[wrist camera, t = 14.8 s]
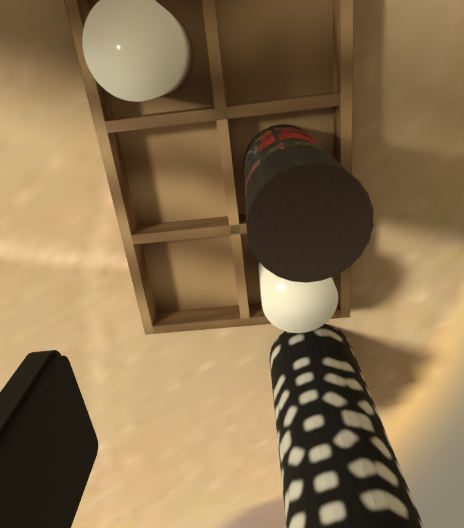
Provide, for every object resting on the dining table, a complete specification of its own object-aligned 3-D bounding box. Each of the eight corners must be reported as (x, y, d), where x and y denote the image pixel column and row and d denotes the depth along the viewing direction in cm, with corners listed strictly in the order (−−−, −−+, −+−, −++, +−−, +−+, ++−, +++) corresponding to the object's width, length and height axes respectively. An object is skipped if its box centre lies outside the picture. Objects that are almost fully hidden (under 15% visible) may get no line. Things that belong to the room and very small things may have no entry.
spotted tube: (290, 399, 44) (325, 626, 26) (255, 342, 41) (267, 556, 23) (363, 370, 42) (456, 594, 24) (333, 309, 39) (412, 512, 21)
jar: (255, 235, 36) (258, 271, 29) (320, 229, 35) (338, 263, 29) (260, 291, 38) (264, 335, 32) (321, 286, 38) (338, 329, 31)
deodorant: (333, 161, 33) (399, 224, 19) (280, 212, 35) (305, 303, 21) (282, 106, 31) (314, 133, 17) (228, 164, 33) (220, 228, 19)
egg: (108, 14, 29) (70, -2, 22) (186, 3, 28) (171, -17, 22) (125, 99, 31) (96, 106, 25) (198, 90, 31) (187, 95, 24)
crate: (75, -14, 29) (58, -23, 26) (342, -52, 27) (354, -66, 25) (151, 316, 40) (145, 334, 37) (342, 299, 39) (350, 317, 36)
